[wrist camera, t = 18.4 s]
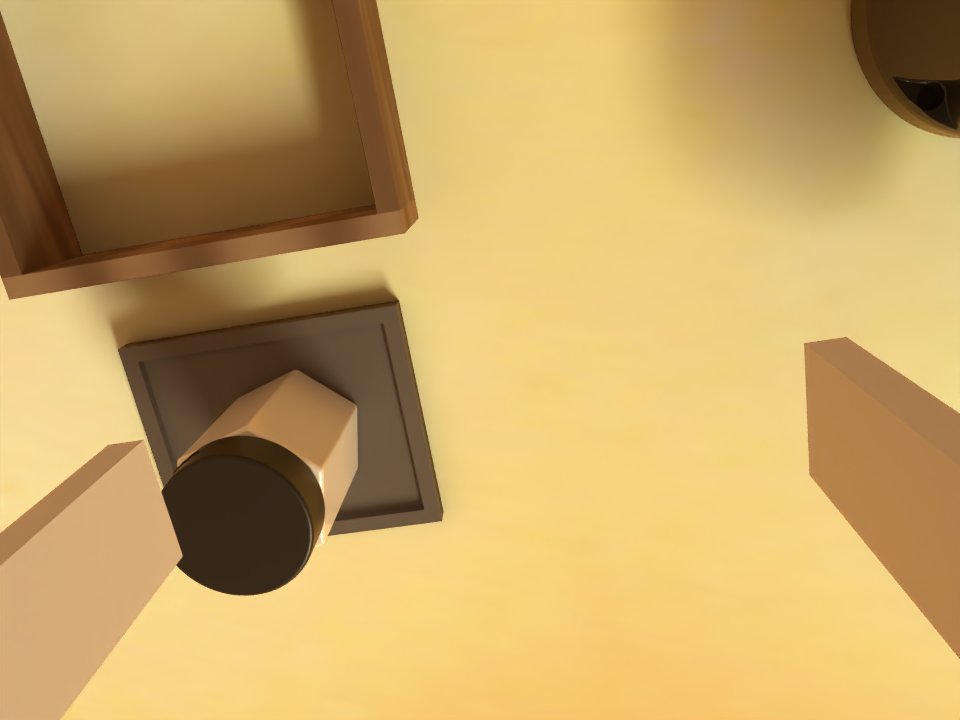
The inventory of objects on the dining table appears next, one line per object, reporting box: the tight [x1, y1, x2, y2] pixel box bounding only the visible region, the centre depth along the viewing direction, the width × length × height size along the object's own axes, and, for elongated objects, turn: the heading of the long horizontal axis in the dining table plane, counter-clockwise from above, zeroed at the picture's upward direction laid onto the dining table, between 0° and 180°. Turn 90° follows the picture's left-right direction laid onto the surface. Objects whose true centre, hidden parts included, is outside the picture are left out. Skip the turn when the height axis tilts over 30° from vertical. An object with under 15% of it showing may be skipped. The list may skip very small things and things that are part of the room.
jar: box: [161, 370, 358, 596], centre depth 43 cm, size 9×8×12 cm
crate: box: [0, 0, 418, 300], centre depth 41 cm, size 22×17×6 cm
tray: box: [118, 301, 443, 536], centre depth 49 cm, size 18×15×1 cm
